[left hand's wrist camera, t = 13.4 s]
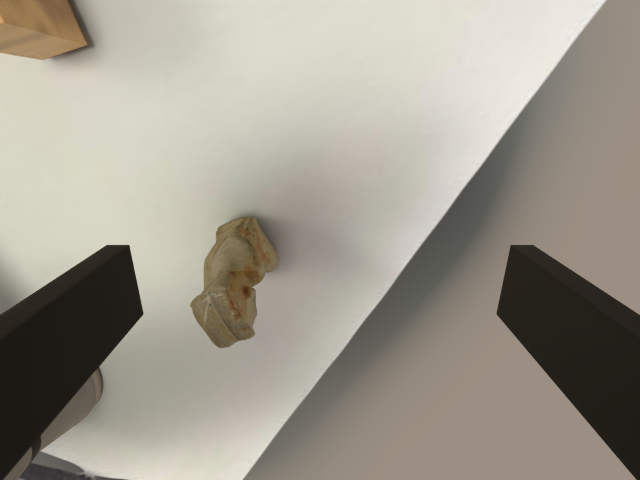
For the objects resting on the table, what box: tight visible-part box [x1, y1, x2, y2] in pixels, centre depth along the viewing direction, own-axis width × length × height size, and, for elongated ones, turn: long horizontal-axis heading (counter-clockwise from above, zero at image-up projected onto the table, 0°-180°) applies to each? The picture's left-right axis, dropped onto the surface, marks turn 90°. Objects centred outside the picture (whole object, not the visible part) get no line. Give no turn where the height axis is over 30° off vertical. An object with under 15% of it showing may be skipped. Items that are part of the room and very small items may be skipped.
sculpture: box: [190, 216, 278, 348], centre depth 33 cm, size 6×7×15 cm
